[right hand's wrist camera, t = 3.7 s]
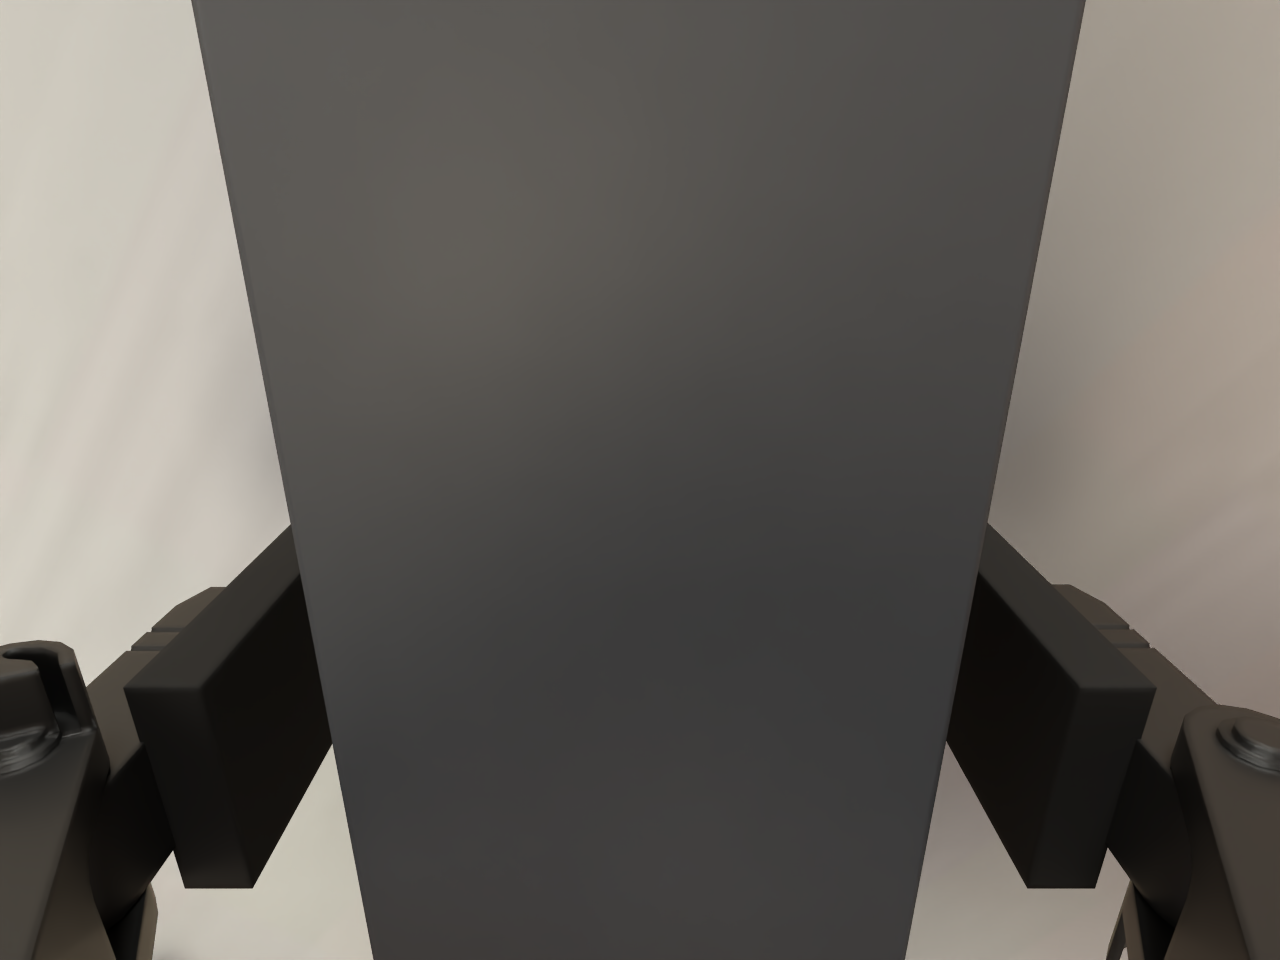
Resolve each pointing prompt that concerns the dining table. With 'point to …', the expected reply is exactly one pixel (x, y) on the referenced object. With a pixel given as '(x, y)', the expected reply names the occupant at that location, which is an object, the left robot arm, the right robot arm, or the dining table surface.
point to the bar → (638, 439)
